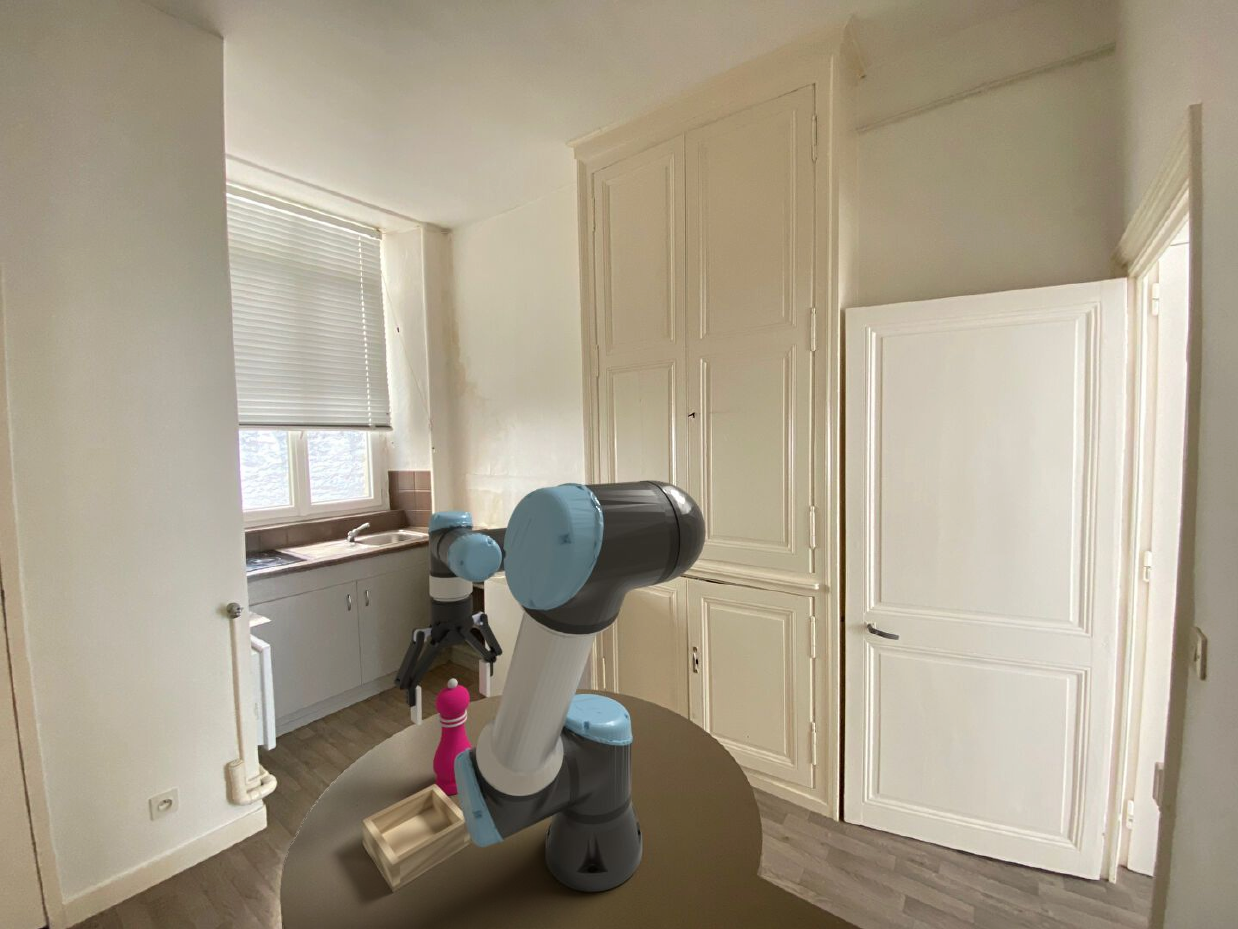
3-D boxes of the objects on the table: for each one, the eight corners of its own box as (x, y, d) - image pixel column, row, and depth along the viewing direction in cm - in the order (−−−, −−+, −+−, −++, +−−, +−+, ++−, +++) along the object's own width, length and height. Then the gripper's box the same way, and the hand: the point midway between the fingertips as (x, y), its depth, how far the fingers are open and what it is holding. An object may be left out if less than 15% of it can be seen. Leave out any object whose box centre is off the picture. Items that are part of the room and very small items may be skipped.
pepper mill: (461, 800, 89) (460, 690, 88) (425, 794, 90) (423, 686, 90) (480, 773, 96) (479, 672, 95) (446, 768, 98) (445, 668, 97)
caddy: (470, 843, 79) (469, 819, 79) (393, 892, 71) (392, 865, 71) (435, 805, 88) (435, 783, 87) (362, 845, 79) (362, 820, 79)
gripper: (498, 578, 103) (499, 677, 105) (372, 606, 86) (374, 726, 87) (519, 585, 98) (519, 690, 99) (389, 617, 80) (391, 744, 81)
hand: (452, 707), depth 93 cm, fingers open, 13 cm apart
